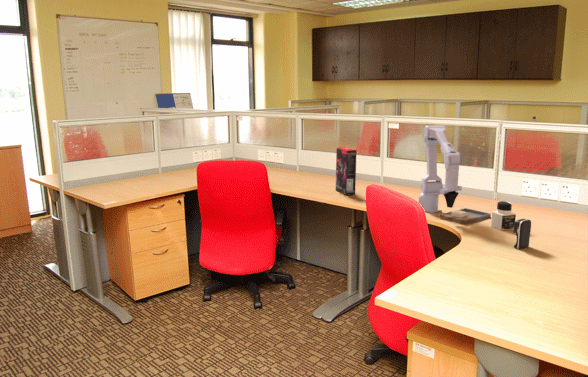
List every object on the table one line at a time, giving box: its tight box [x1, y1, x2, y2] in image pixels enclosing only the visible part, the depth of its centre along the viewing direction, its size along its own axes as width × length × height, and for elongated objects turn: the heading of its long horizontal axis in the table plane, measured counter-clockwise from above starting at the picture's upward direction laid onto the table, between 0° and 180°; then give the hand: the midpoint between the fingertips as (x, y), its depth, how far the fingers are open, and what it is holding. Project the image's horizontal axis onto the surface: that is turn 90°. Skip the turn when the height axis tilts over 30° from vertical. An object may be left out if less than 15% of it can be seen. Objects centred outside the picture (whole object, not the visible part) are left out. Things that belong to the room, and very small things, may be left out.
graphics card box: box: [335, 146, 357, 196], centre depth 284 cm, size 17×7×27 cm, turn 17°
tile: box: [450, 209, 467, 218], centre depth 225 cm, size 5×5×2 cm
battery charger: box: [512, 218, 532, 250], centre depth 185 cm, size 7×4×11 cm, turn 124°
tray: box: [459, 207, 492, 222], centre depth 232 cm, size 14×11×2 cm
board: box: [439, 211, 479, 226], centre depth 225 cm, size 14×10×2 cm
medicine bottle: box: [490, 200, 516, 231], centre depth 211 cm, size 7×7×12 cm
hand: (449, 207), depth 219 cm, fingers closed
